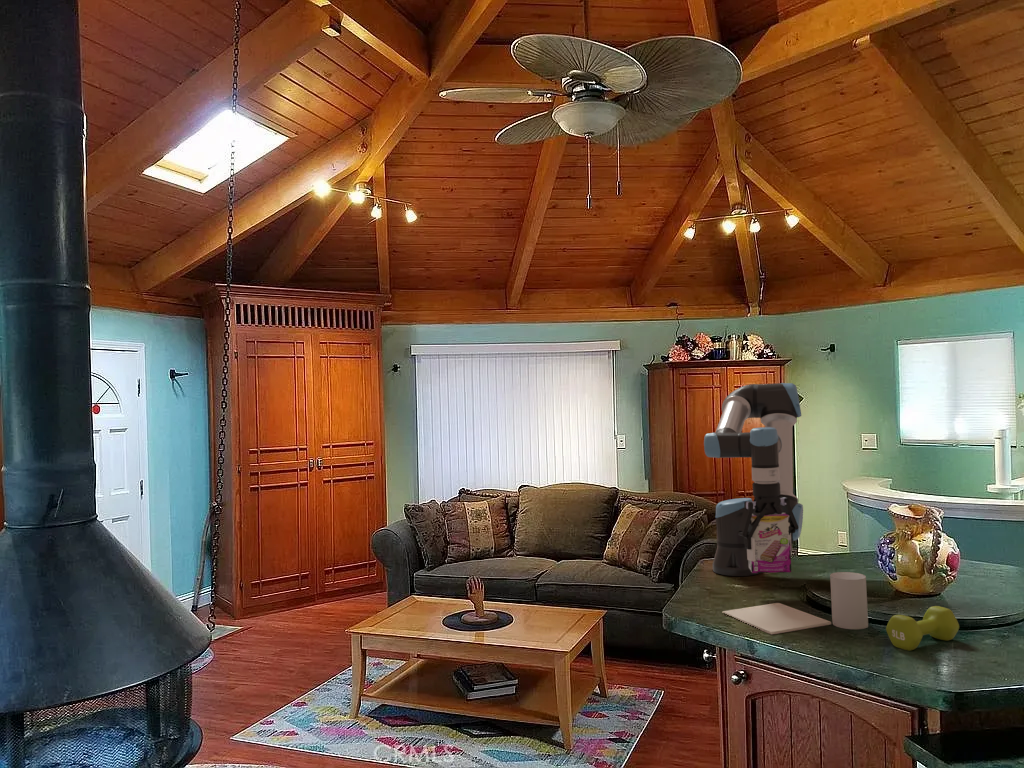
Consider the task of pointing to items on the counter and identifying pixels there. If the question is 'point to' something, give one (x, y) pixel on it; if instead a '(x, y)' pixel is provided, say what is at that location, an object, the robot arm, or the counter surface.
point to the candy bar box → (772, 544)
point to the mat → (776, 618)
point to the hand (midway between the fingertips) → (769, 557)
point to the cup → (849, 600)
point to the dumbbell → (922, 627)
